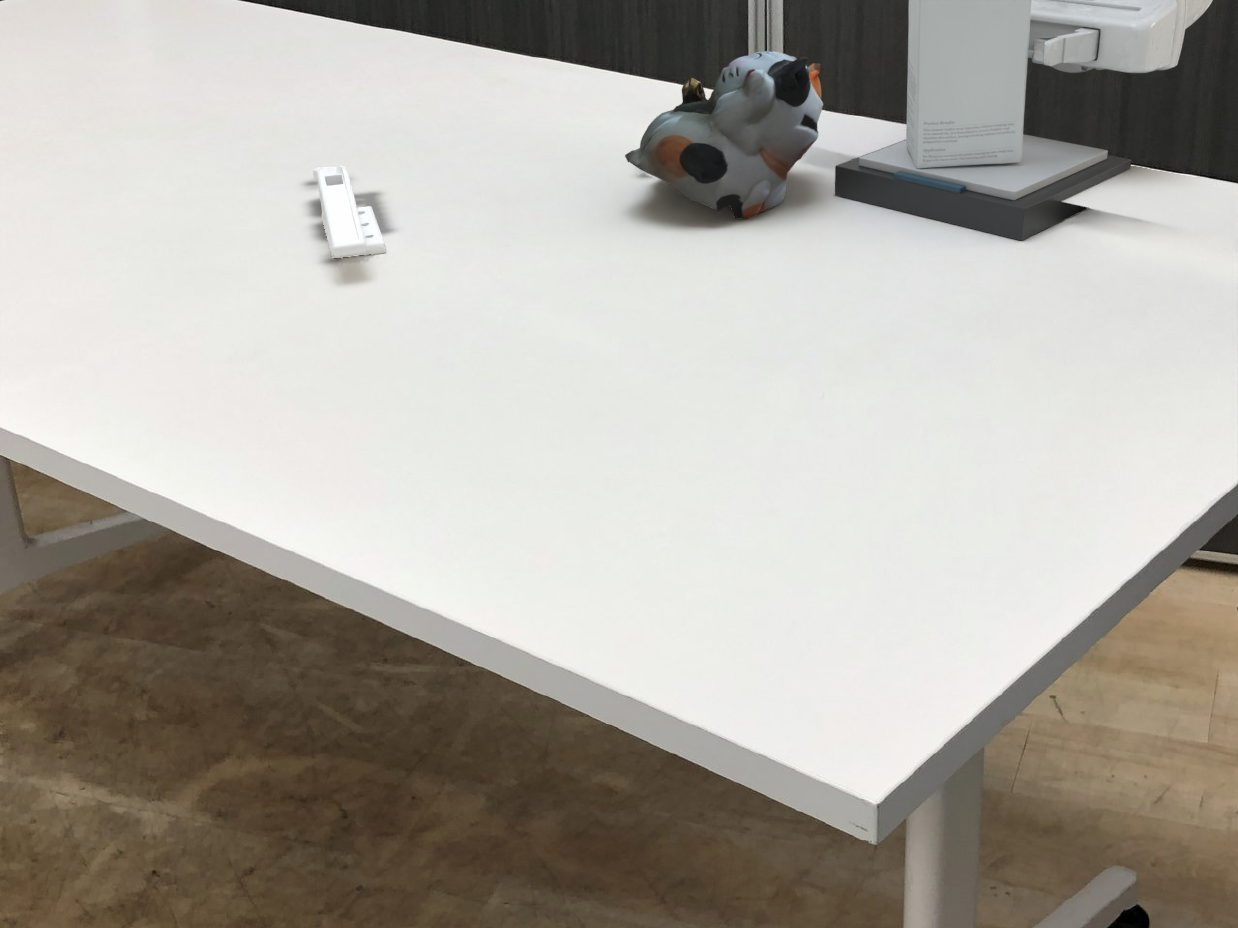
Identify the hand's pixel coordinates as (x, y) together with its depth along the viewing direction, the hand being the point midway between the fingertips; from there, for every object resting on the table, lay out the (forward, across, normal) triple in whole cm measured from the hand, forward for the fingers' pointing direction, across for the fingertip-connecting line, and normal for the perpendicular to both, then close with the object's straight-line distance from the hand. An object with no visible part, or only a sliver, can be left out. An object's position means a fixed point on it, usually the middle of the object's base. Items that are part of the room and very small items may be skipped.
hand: (984, 45), depth 107 cm
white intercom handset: (+37, -31, +12) cm, 50 cm away
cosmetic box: (+1, -1, +9) cm, 9 cm away
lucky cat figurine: (+12, -15, +12) cm, 23 cm away
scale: (-1, 0, +12) cm, 12 cm away
